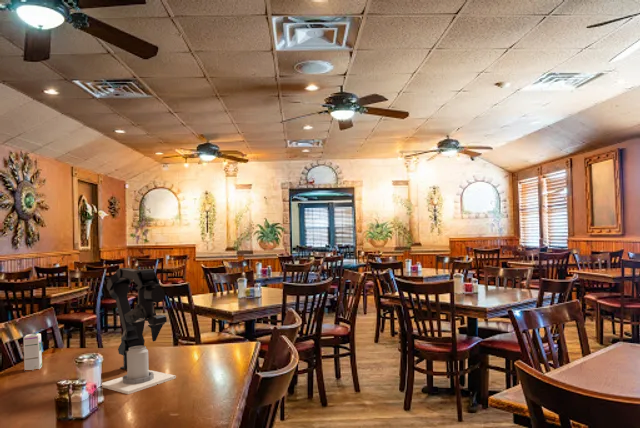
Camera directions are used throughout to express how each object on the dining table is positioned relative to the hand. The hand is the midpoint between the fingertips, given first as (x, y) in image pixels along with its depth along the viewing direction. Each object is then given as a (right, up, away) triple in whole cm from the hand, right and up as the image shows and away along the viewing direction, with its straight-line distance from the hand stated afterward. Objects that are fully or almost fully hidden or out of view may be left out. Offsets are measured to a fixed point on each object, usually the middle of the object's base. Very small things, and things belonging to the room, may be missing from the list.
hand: (146, 340), depth 188 cm
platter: (+1, -13, -12) cm, 17 cm away
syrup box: (-54, -16, +14) cm, 58 cm away
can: (+1, -12, -12) cm, 17 cm away
